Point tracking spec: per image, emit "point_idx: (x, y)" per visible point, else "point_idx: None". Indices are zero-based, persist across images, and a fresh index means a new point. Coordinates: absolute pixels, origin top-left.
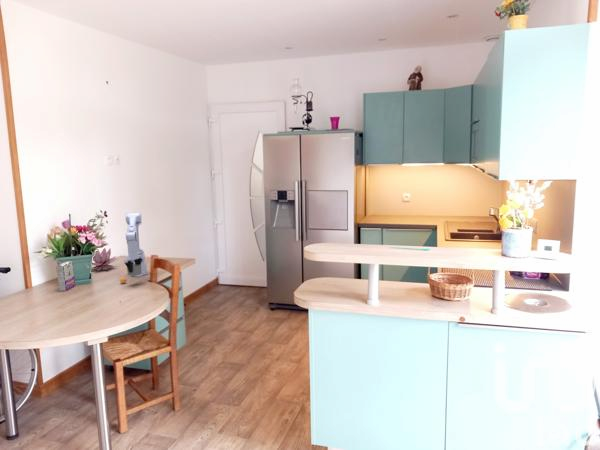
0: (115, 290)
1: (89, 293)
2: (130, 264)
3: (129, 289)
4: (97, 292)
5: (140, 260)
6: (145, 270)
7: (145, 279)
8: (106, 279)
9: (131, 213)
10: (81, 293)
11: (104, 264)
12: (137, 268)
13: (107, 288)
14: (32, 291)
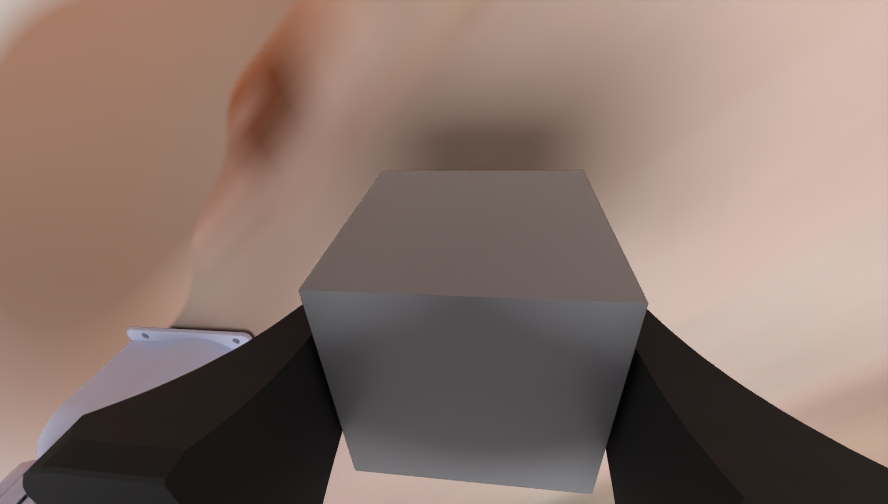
0: (777, 242)
1: (881, 402)
2: (868, 474)
3: (730, 89)
4: (850, 362)
5: (195, 438)
6: (127, 361)
7: (266, 218)
8: (433, 482)
9: None
10: (866, 450)
11: None
12: (490, 244)
13: None
14: None
